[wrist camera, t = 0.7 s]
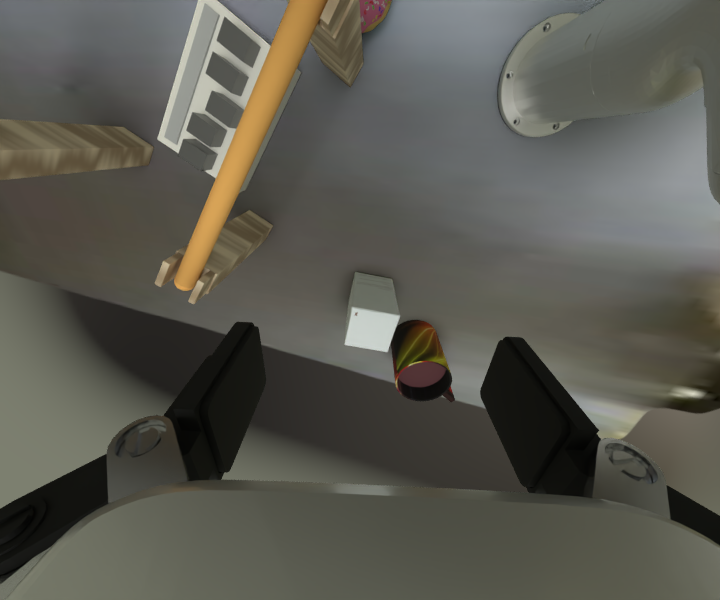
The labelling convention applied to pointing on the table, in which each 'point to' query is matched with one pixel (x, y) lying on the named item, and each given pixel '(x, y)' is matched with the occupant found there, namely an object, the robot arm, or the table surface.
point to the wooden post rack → (124, 149)
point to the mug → (420, 362)
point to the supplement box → (371, 313)
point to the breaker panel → (215, 89)
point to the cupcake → (372, 13)
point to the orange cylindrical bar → (250, 132)
